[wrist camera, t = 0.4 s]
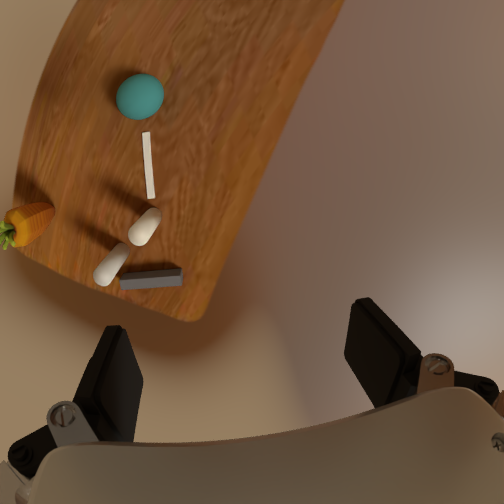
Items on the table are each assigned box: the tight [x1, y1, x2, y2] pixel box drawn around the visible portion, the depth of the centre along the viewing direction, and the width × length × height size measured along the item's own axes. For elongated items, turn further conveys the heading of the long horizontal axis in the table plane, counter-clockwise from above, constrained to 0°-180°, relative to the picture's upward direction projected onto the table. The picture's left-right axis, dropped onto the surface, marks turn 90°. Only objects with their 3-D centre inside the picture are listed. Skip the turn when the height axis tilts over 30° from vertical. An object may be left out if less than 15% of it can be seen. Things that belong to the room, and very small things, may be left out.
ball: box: [116, 74, 164, 120], centre depth 29 cm, size 6×6×6 cm
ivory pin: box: [128, 208, 162, 246], centre depth 33 cm, size 2×2×9 cm
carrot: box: [0, 202, 55, 250], centre depth 27 cm, size 5×5×15 cm
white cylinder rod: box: [93, 243, 130, 286], centre depth 34 cm, size 2×2×9 cm
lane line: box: [142, 132, 155, 199], centre depth 35 cm, size 9×1×1 cm, turn 2°
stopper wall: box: [119, 268, 183, 290], centre depth 39 cm, size 2×9×2 cm, turn 92°
